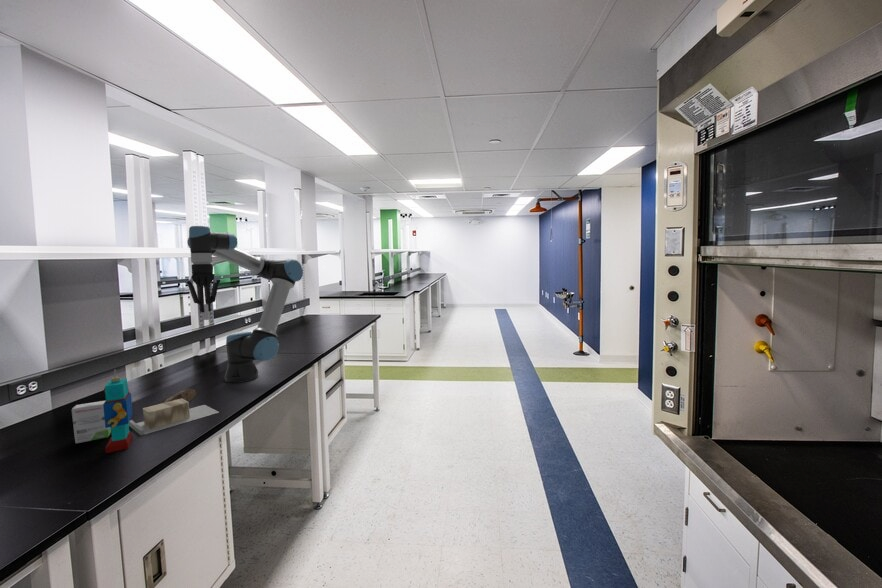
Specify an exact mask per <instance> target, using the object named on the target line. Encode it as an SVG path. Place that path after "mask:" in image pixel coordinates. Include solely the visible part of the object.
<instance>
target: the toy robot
mask: <svg viewBox="0 0 882 588" xmlns="http://www.w3.org/2000/svg"><path fill="white" fill-rule="evenodd" d="M113 370H114V371H113V375H114V377H111V378H110V379H111V380H109V381H108V382H107V383H106V384H105V386H104V388H103V393H104V395H105V400H104V401H105V403H104V404H103V408H104V418H105V428H109V427H111V437H110V438H109V440H108V442H107V445H106V446H105V447H104V448H105V450H104V451H105V454H108V453H114V451H115V452H118V451H124V450H128V449H129V447H130V445H131V443H132V441H133V433H132V432H131V431H130V426H129V421H130V420H132V417H133V403H132V402H133V401H132V393H131V392H130V391H129V388H128V386H129V385H128V379H127V378H121V377H120V376H116V371H117V370H116V369H113ZM123 449H124V450H123Z"/></svg>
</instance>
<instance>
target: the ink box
mask: <svg viewBox="0 0 882 588" xmlns="http://www.w3.org/2000/svg"><path fill="white" fill-rule="evenodd" d="M105 401H106V400H99V401H94V402H88V403H87V402H86V403H81V404H75V406H73V407H72V409H71V416H72V424H73V433H74V434H73V435H74V443H75V444H81V443H85V442H91V441H95V440H101V439H106V438H109V437H110V435H111V434H112V432H111V427H109V428H105V418H104V408H103V404H104V403H105Z"/></svg>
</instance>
